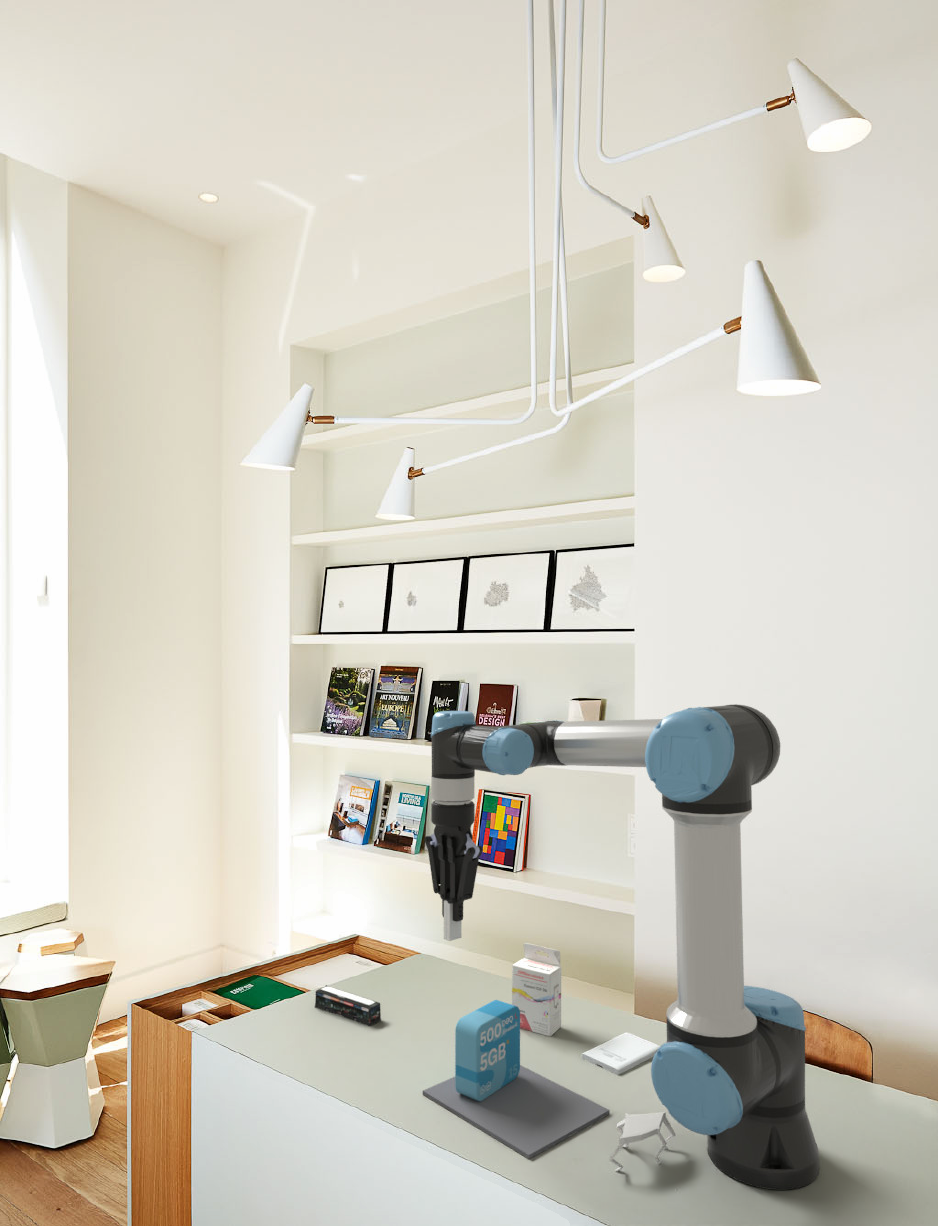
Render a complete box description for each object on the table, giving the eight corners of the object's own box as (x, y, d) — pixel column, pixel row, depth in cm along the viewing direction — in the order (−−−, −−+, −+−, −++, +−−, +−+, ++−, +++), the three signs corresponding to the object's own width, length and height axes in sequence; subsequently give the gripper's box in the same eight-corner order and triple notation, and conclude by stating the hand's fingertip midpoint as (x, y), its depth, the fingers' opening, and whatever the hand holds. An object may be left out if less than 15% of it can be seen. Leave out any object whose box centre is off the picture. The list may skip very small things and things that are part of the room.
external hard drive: (661, 1055, 158) (617, 1078, 149) (625, 1039, 164) (581, 1061, 156) (661, 1046, 158) (617, 1068, 150) (625, 1031, 164) (581, 1051, 156)
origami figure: (624, 1131, 133) (624, 1097, 133) (678, 1148, 128) (678, 1114, 128) (591, 1171, 122) (591, 1135, 123) (648, 1191, 118) (648, 1154, 118)
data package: (476, 1105, 138) (476, 1027, 139) (454, 1095, 141) (454, 1020, 142) (520, 1075, 148) (520, 1003, 148) (499, 1067, 151) (499, 996, 151)
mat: (609, 1113, 137) (609, 1109, 137) (529, 1158, 125) (529, 1154, 125) (502, 1059, 155) (502, 1055, 155) (422, 1094, 143) (422, 1090, 143)
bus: (332, 994, 185) (332, 973, 185) (424, 1024, 170) (424, 1002, 171) (279, 1017, 173) (279, 996, 174) (374, 1052, 159) (374, 1028, 159)
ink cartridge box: (510, 1026, 168) (510, 948, 169) (523, 1017, 172) (523, 941, 173) (550, 1037, 164) (550, 957, 164) (562, 1027, 168) (562, 949, 168)
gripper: (494, 803, 150) (494, 942, 150) (444, 793, 160) (444, 924, 159) (461, 808, 145) (461, 953, 144) (412, 798, 155) (411, 933, 154)
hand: (452, 937), depth 152 cm, fingers closed
